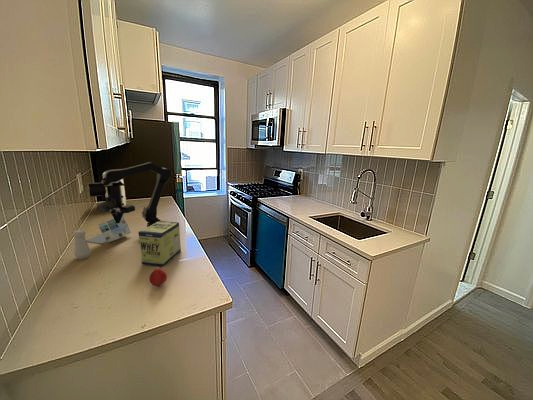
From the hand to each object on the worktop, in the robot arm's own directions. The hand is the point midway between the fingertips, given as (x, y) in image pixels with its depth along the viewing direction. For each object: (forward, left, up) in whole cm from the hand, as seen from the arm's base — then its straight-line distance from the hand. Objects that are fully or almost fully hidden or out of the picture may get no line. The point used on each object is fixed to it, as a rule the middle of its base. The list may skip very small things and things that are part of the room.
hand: (118, 223), depth 119 cm
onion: (-47, +29, -10) cm, 56 cm away
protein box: (-34, +10, -10) cm, 37 cm away
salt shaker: (0, +20, -10) cm, 22 cm away
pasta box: (+55, -51, -10) cm, 76 cm away
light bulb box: (0, 0, -9) cm, 9 cm away
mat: (+10, 0, -10) cm, 14 cm away
